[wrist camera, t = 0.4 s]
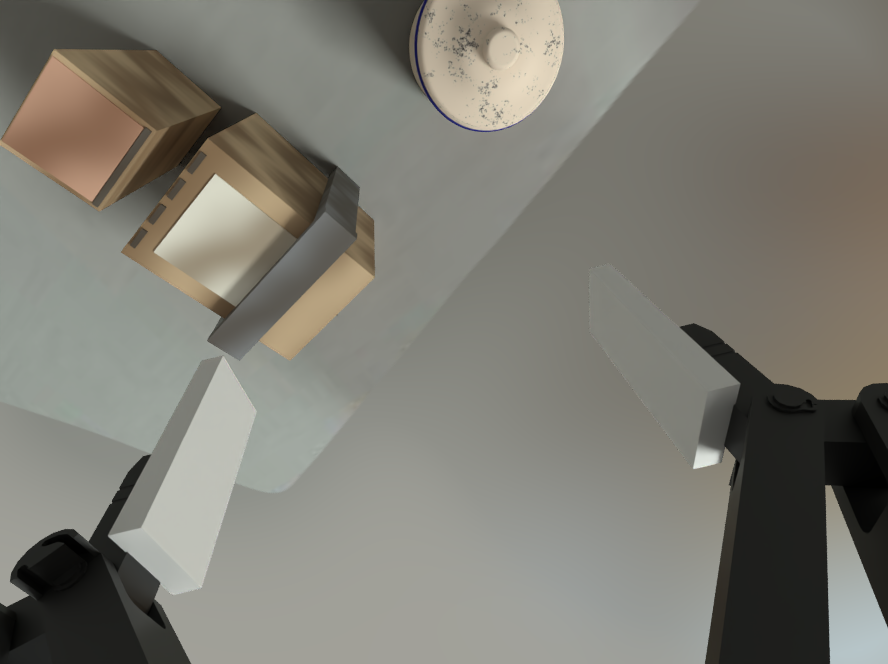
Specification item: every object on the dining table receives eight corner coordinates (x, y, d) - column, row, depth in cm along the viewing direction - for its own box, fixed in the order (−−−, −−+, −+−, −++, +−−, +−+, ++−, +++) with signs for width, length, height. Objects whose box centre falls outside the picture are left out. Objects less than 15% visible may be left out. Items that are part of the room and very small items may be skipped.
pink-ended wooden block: (112, 116, 33) (-4, 144, 23) (156, 50, 31) (52, 49, 21) (177, 166, 35) (98, 211, 25) (221, 107, 34) (156, 131, 23)
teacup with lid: (459, 141, 37) (490, 172, 27) (379, 44, 33) (382, 40, 23) (576, 26, 34) (659, 15, 24) (506, -99, 30) (571, -173, 20)
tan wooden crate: (179, 210, 37) (99, 276, 26) (268, 97, 34) (218, 119, 23) (299, 297, 43) (274, 381, 32) (385, 208, 39) (390, 268, 28)
